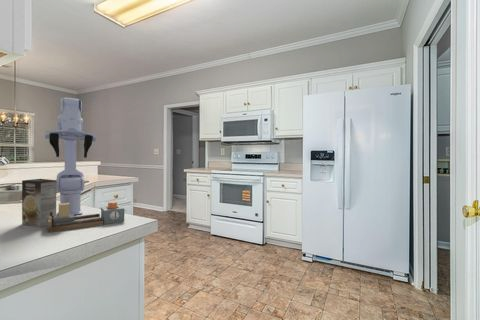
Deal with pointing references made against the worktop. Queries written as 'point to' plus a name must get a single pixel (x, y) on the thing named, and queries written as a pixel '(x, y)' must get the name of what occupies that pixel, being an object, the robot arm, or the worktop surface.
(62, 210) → the carriage
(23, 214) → the coffee box
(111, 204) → the button
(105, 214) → the end cabinet
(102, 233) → the worktop surface
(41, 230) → the worktop surface
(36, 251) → the worktop surface
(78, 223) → the track
